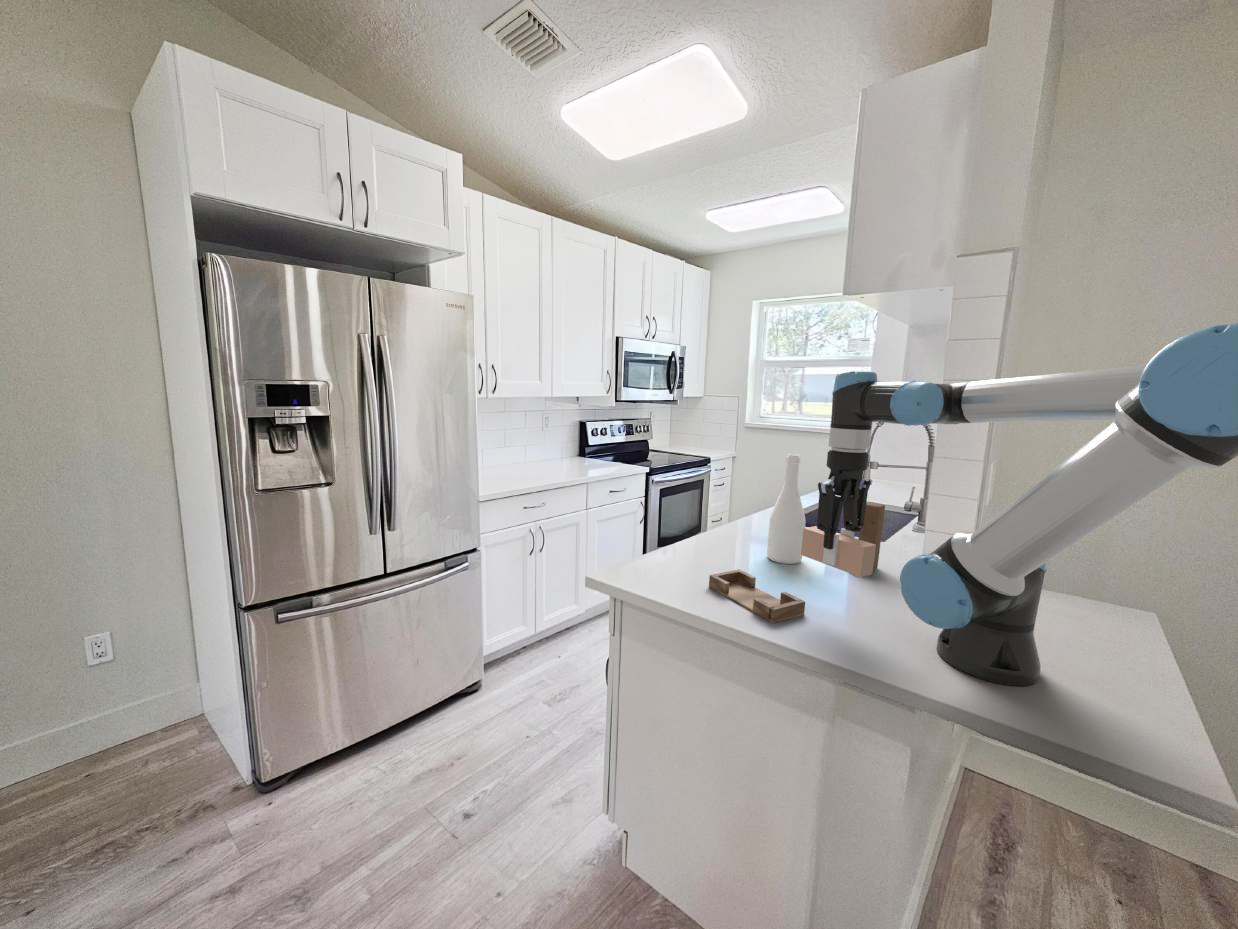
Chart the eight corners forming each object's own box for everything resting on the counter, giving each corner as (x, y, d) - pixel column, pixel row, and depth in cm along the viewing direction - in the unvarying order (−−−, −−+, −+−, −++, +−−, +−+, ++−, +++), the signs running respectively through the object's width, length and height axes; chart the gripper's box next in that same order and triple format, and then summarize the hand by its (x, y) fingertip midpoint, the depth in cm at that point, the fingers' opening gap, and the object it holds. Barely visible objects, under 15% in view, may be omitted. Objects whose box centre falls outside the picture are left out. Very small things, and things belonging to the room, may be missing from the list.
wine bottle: (804, 566, 137) (815, 458, 132) (768, 563, 138) (778, 456, 134) (797, 555, 146) (808, 453, 141) (764, 552, 148) (773, 451, 143)
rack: (804, 614, 108) (805, 601, 107) (772, 623, 103) (773, 609, 103) (738, 580, 125) (739, 569, 125) (708, 587, 121) (709, 575, 120)
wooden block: (864, 576, 132) (873, 509, 129) (847, 571, 135) (855, 506, 132) (877, 568, 138) (885, 504, 135) (860, 563, 141) (868, 501, 138)
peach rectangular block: (872, 574, 99) (876, 544, 98) (860, 577, 97) (863, 547, 96) (812, 552, 111) (815, 526, 110) (800, 554, 109) (803, 528, 108)
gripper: (858, 446, 108) (848, 551, 111) (803, 448, 99) (793, 562, 103) (892, 450, 101) (879, 561, 105) (836, 453, 93) (824, 574, 96)
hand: (837, 561), depth 104 cm, fingers closed on peach rectangular block, 4 cm apart
